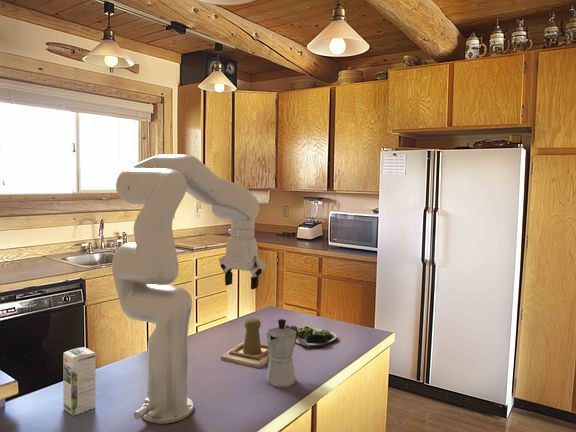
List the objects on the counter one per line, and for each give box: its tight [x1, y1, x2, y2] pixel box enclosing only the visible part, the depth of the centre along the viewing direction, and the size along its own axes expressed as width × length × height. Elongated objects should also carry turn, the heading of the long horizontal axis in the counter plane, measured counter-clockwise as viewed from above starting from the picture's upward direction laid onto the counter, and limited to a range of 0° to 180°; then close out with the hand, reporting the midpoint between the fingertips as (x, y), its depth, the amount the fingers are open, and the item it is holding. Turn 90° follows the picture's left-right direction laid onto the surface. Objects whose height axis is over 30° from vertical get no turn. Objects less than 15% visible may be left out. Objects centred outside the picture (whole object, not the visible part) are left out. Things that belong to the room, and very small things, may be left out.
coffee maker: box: [265, 319, 298, 389], centre depth 131 cm, size 15×9×18 cm, turn 149°
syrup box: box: [62, 347, 97, 417], centre depth 112 cm, size 6×6×14 cm
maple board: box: [220, 341, 271, 369], centre depth 149 cm, size 16×14×2 cm
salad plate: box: [295, 325, 338, 349], centre depth 166 cm, size 19×18×5 cm
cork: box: [243, 317, 261, 355], centre depth 148 cm, size 6×6×11 cm
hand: (241, 286), depth 146 cm, fingers open, 9 cm apart
